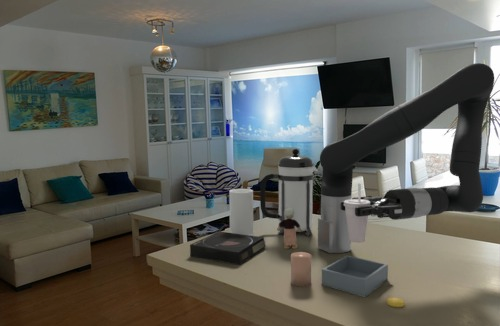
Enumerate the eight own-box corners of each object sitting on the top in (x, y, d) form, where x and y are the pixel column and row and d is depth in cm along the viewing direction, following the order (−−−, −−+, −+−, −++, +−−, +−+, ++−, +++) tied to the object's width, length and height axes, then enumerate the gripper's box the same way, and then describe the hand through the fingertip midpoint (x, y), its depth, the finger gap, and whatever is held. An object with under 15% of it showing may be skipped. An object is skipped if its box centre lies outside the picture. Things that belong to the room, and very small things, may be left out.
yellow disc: (395, 308, 89) (395, 306, 89) (383, 302, 92) (383, 299, 92) (407, 305, 90) (408, 302, 90) (395, 299, 93) (395, 296, 93)
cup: (229, 232, 149) (228, 188, 148) (252, 232, 150) (251, 188, 148) (230, 239, 141) (229, 192, 140) (254, 238, 142) (254, 192, 140)
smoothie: (371, 244, 98) (371, 185, 97) (343, 243, 100) (343, 185, 98) (369, 237, 104) (369, 181, 103) (343, 236, 106) (343, 181, 104)
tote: (365, 297, 95) (365, 280, 94) (321, 285, 102) (322, 269, 101) (387, 279, 105) (387, 264, 104) (346, 269, 112) (346, 255, 111)
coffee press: (295, 224, 161) (295, 146, 158) (325, 233, 148) (325, 148, 145) (259, 231, 151) (258, 148, 148) (287, 241, 138) (287, 151, 135)
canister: (297, 287, 100) (297, 259, 99) (287, 280, 105) (287, 253, 104) (315, 284, 102) (315, 256, 102) (304, 277, 107) (304, 250, 106)
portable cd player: (240, 266, 116) (240, 252, 116) (190, 257, 124) (190, 244, 124) (265, 250, 131) (265, 237, 130) (219, 243, 139) (219, 231, 138)
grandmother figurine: (299, 245, 134) (300, 206, 133) (302, 248, 130) (302, 208, 129) (276, 245, 134) (276, 207, 132) (278, 249, 130) (277, 209, 128)
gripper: (390, 184, 112) (334, 189, 107) (427, 193, 98) (364, 198, 93) (389, 212, 112) (334, 217, 108) (426, 224, 99) (364, 231, 94)
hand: (348, 208), depth 101 cm, fingers closed on smoothie, 6 cm apart
